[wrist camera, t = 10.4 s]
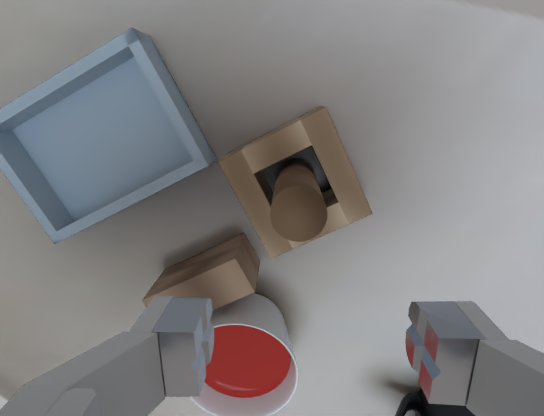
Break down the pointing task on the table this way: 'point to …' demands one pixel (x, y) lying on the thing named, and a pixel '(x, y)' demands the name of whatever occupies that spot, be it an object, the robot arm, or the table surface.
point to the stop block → (212, 274)
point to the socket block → (279, 145)
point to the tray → (100, 137)
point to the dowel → (297, 202)
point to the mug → (429, 407)
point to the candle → (249, 360)
